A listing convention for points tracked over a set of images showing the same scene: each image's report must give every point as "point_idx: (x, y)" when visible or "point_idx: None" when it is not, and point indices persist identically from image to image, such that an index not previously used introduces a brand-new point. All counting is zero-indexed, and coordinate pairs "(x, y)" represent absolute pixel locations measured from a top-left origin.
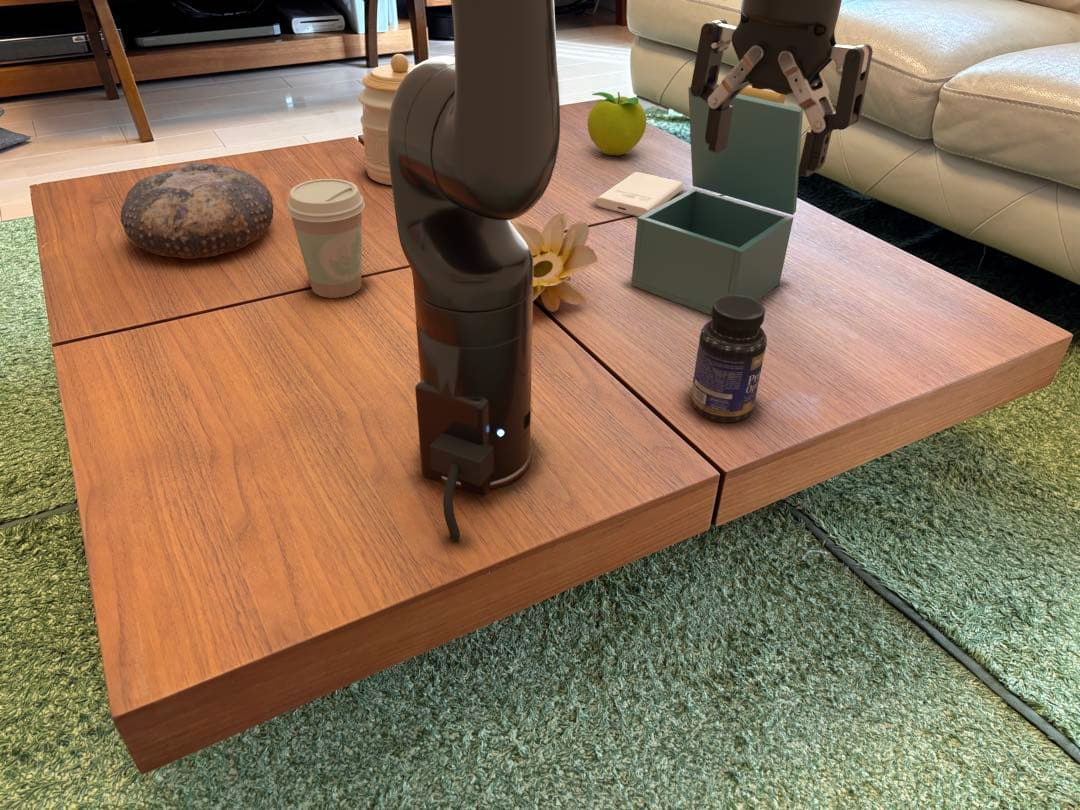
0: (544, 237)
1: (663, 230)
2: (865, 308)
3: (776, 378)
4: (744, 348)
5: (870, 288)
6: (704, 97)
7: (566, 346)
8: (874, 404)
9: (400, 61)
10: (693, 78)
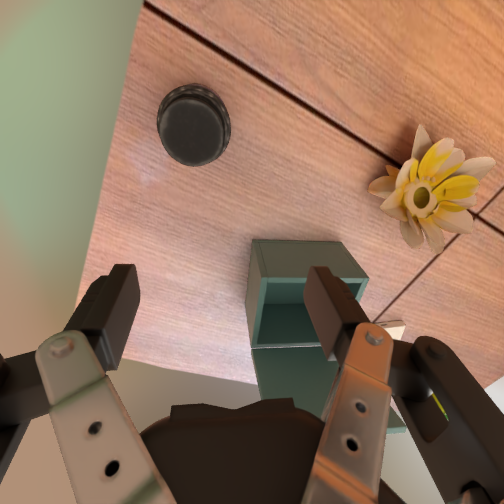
0: (437, 229)
1: (340, 275)
2: (181, 309)
3: (184, 188)
4: (166, 99)
5: (191, 331)
6: (400, 345)
7: (358, 120)
8: (105, 201)
9: None
10: (468, 374)
